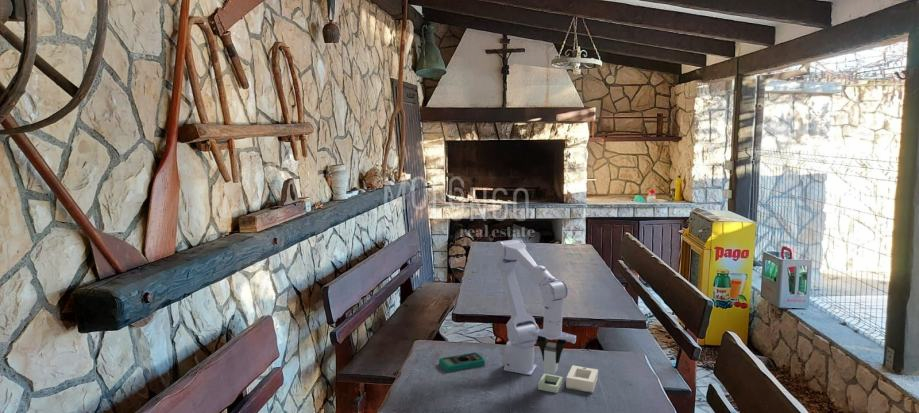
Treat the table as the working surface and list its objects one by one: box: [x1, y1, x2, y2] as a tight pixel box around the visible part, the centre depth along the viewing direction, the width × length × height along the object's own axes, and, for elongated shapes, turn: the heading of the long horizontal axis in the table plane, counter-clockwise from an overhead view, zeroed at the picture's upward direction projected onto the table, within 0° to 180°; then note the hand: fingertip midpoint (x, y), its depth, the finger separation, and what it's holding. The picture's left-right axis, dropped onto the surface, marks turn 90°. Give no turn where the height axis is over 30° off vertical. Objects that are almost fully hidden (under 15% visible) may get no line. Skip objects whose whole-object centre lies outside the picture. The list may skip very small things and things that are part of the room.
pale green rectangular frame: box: [537, 372, 564, 394], centre depth 178 cm, size 6×8×2 cm
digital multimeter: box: [438, 352, 486, 373], centre depth 193 cm, size 7×15×3 cm, turn 114°
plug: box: [543, 341, 559, 375], centre depth 177 cm, size 4×5×8 cm
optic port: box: [565, 364, 599, 394], centre depth 180 cm, size 8×10×4 cm
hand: (551, 360), depth 177 cm, fingers closed on plug, 3 cm apart
